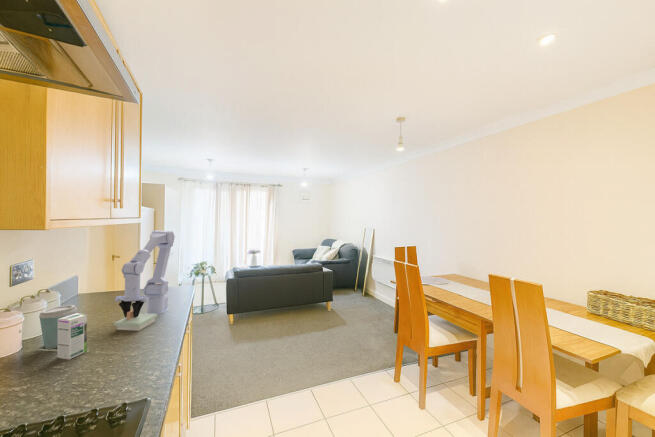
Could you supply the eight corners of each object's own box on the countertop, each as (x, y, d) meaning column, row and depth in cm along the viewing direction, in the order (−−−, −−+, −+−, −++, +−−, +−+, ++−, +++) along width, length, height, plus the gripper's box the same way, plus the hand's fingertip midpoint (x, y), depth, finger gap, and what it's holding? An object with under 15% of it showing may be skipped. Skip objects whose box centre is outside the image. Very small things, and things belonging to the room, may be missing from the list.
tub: (134, 321, 126) (134, 314, 126) (154, 322, 125) (154, 315, 125) (117, 330, 116) (117, 323, 116) (139, 331, 115) (139, 324, 115)
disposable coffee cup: (28, 352, 97) (29, 312, 97) (58, 338, 107) (59, 302, 107) (56, 353, 97) (57, 313, 96) (84, 339, 107) (85, 303, 107)
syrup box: (69, 360, 92) (70, 319, 92) (56, 357, 93) (57, 318, 93) (86, 352, 98) (87, 314, 98) (74, 349, 99) (75, 312, 99)
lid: (134, 316, 126) (134, 306, 126) (157, 317, 126) (157, 307, 126) (114, 326, 115) (114, 315, 115) (139, 327, 115) (139, 316, 115)
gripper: (109, 289, 117) (109, 319, 117) (141, 290, 116) (140, 320, 116) (122, 285, 124) (121, 313, 124) (152, 286, 123) (151, 314, 123)
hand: (131, 316), depth 121 cm, fingers open, 4 cm apart
